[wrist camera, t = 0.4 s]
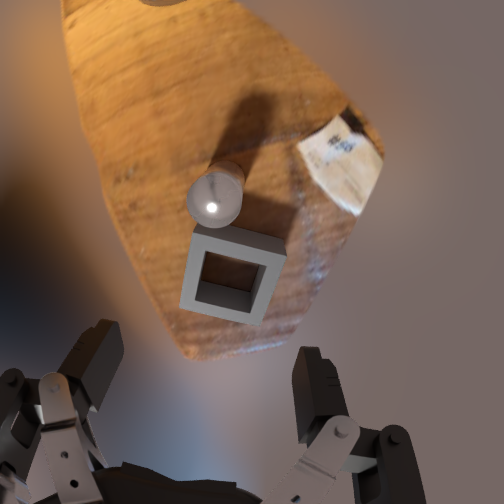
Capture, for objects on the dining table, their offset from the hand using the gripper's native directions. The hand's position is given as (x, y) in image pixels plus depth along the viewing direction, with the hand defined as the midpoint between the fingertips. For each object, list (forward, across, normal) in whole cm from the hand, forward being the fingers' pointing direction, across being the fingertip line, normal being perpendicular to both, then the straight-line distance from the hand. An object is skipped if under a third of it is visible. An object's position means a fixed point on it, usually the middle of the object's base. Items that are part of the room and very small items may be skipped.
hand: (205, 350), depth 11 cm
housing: (+19, 0, +6) cm, 20 cm away
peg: (+19, +1, -4) cm, 19 cm away
